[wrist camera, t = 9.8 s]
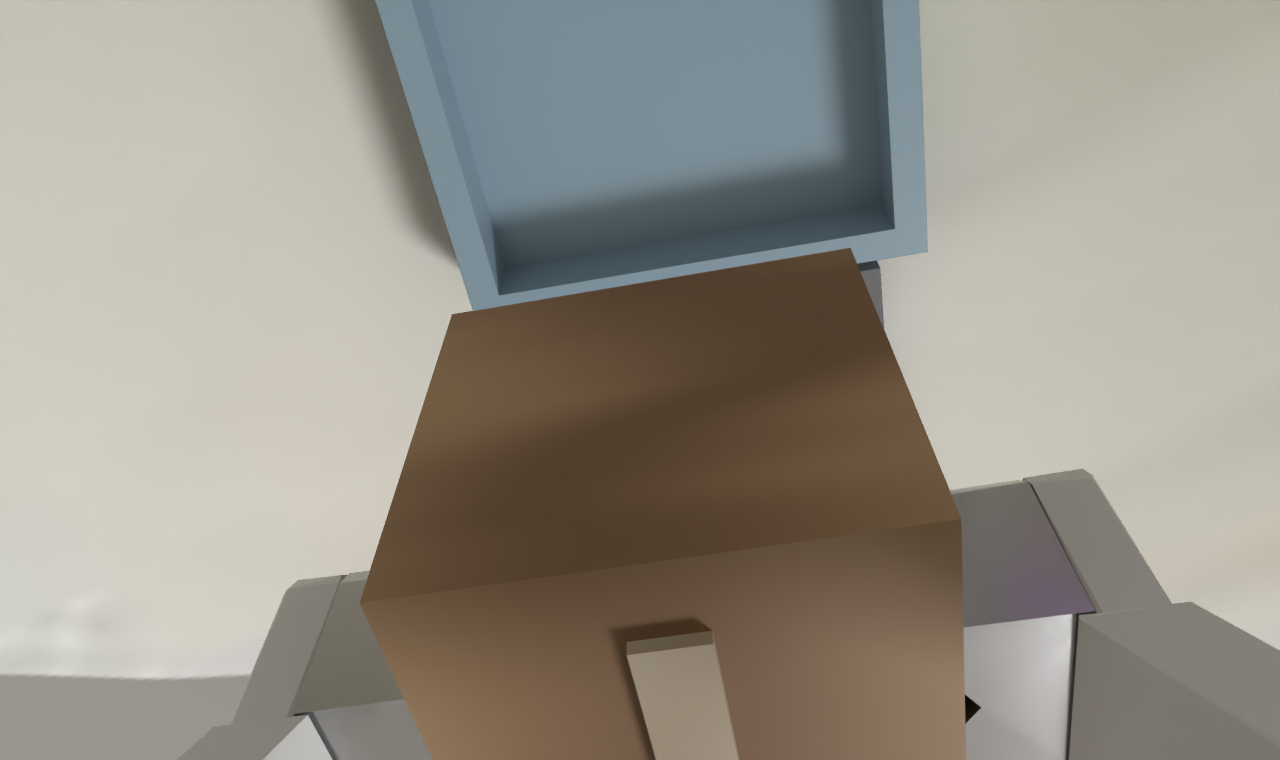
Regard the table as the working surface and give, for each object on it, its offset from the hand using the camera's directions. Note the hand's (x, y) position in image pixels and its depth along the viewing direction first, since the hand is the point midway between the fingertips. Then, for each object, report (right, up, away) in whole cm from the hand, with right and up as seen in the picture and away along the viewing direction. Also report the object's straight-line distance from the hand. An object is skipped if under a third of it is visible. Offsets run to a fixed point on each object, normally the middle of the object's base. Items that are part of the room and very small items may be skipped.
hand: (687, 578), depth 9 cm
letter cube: (0, +1, +2) cm, 2 cm away
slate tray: (0, +10, +16) cm, 19 cm away
